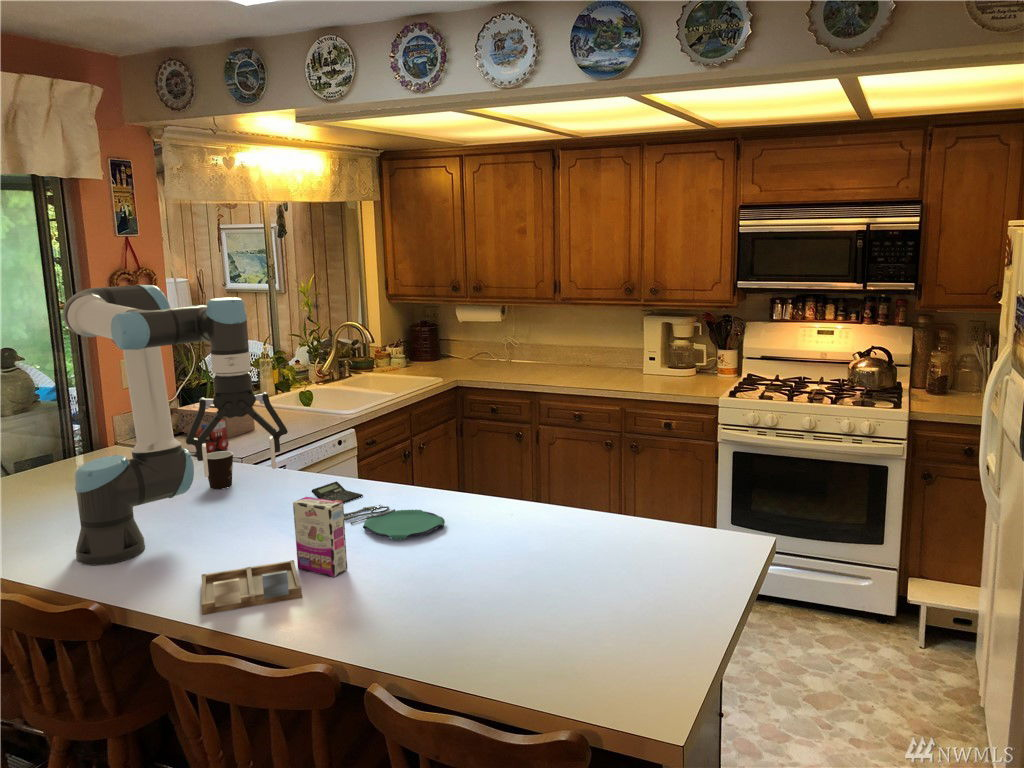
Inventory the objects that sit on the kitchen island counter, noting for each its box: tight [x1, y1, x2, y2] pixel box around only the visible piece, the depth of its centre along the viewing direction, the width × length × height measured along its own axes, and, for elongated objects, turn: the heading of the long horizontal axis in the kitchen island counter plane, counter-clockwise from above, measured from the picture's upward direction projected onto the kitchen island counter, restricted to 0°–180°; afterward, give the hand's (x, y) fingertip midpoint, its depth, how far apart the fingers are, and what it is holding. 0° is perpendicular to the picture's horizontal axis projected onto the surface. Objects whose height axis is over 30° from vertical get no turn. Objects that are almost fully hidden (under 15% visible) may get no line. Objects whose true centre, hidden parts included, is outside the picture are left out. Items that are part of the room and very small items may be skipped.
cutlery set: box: [344, 504, 446, 541], centre depth 213 cm, size 20×30×2 cm, turn 45°
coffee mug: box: [207, 450, 234, 490], centre depth 248 cm, size 12×9×10 cm
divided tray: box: [200, 559, 303, 616], centre depth 174 cm, size 20×16×6 cm
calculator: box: [311, 481, 364, 504], centre depth 235 cm, size 9×12×3 cm
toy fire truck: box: [195, 420, 229, 454], centre depth 290 cm, size 7×12×10 cm, turn 141°
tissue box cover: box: [176, 402, 256, 439], centre depth 318 cm, size 26×14×10 cm, turn 65°
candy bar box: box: [292, 496, 348, 578], centre depth 183 cm, size 11×5×16 cm, turn 62°
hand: (240, 471), depth 170 cm, fingers open, 13 cm apart
